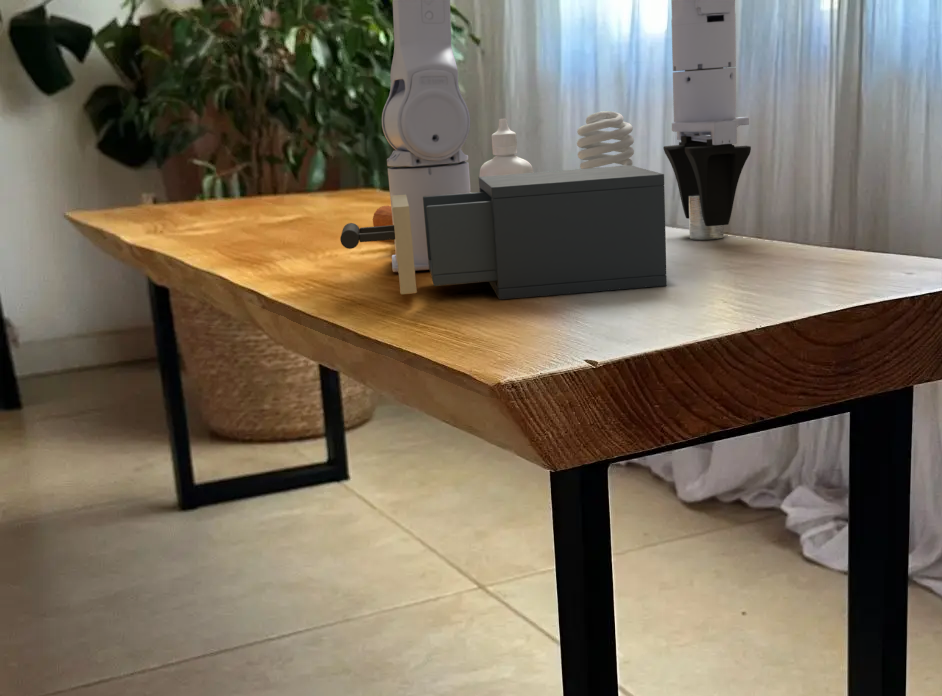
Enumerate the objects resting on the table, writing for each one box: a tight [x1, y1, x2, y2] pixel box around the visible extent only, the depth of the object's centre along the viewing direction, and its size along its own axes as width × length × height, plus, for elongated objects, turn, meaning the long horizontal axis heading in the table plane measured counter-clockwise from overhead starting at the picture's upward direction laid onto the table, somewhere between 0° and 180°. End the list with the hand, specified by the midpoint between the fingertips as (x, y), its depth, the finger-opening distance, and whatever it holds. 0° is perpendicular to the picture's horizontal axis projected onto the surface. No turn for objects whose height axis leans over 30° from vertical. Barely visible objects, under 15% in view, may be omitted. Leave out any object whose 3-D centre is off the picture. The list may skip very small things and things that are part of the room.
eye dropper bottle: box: [479, 118, 534, 177], centre depth 122 cm, size 4×6×12 cm
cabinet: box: [478, 165, 668, 301], centre depth 96 cm, size 13×13×8 cm
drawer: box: [339, 191, 497, 295], centre depth 95 cm, size 16×11×6 cm
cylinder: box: [688, 194, 725, 241], centre depth 116 cm, size 3×3×4 cm
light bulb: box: [576, 110, 635, 169], centre depth 122 cm, size 6×6×12 cm
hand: (706, 221), depth 117 cm, fingers open, 7 cm apart
